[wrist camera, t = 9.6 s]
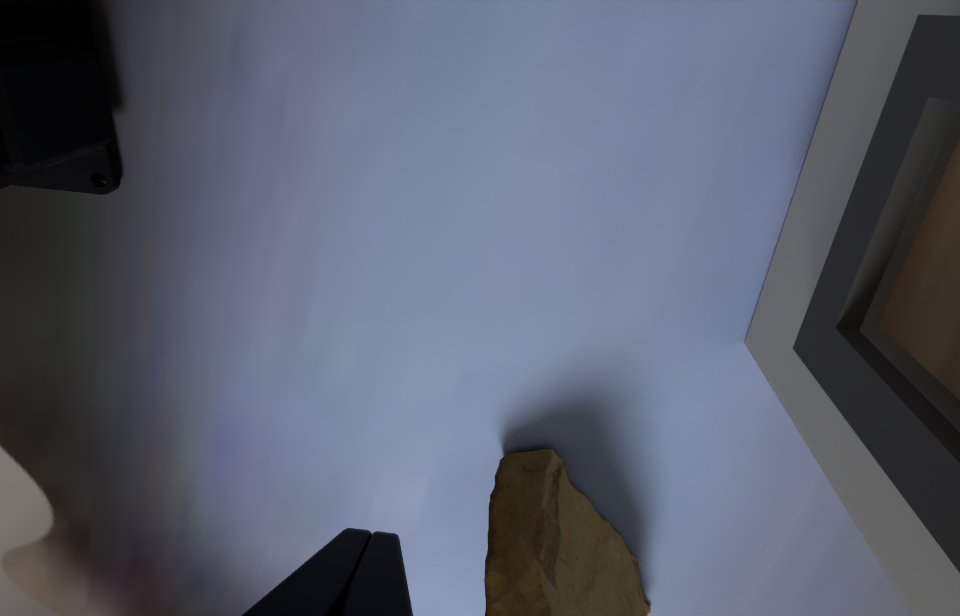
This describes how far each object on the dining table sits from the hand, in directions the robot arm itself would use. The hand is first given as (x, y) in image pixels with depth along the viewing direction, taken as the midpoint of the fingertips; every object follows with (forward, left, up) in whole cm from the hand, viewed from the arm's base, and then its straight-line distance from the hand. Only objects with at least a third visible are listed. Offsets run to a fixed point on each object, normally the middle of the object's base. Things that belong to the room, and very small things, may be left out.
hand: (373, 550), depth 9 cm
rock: (+6, -13, -13) cm, 20 cm away
